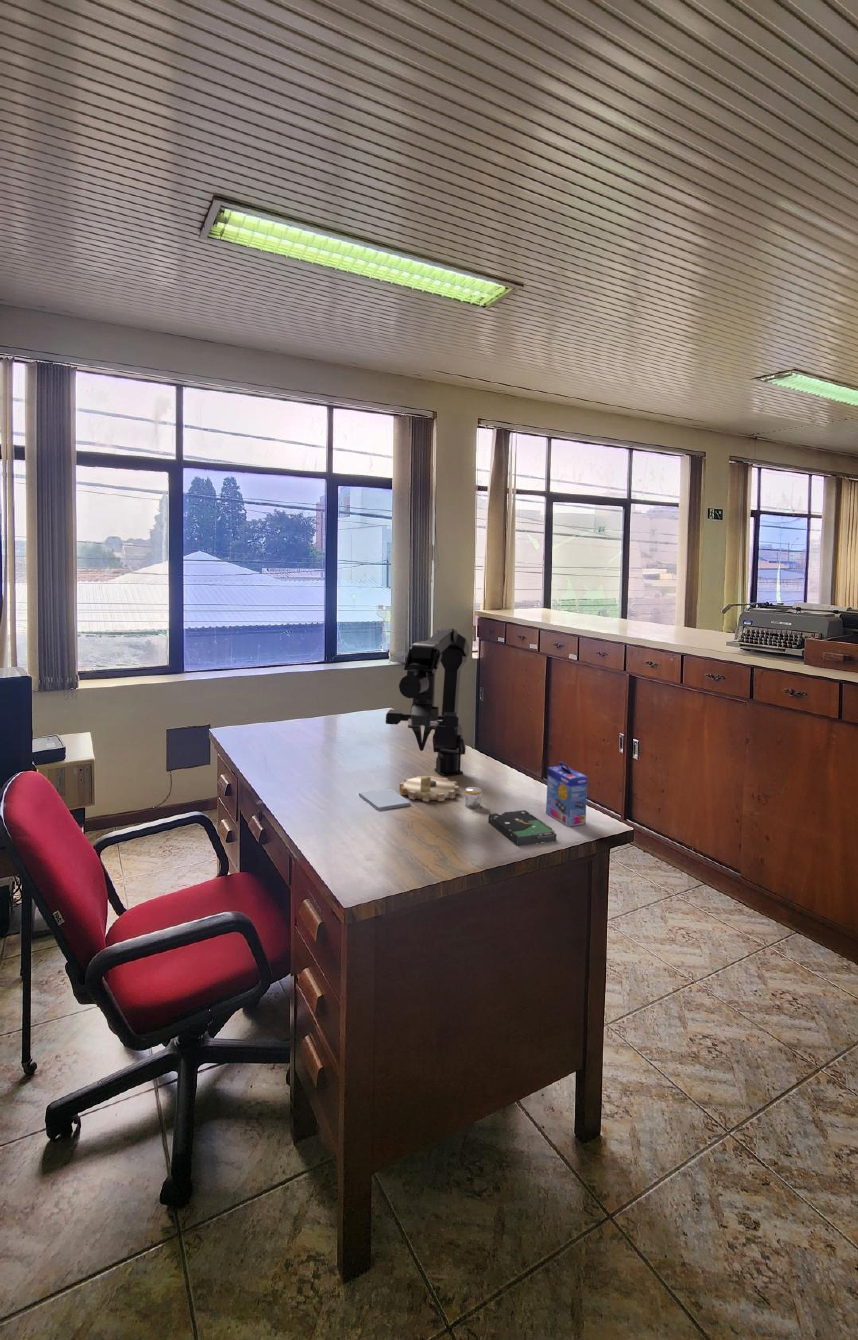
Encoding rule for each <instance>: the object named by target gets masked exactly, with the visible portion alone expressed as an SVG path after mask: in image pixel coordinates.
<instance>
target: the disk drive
mask: <svg viewBox="0 0 858 1340" xmlns="http://www.w3.org/2000/svg"><path fill="white" fill-rule="evenodd" d="M487 817H488V819H487V820H488V821H487V822H488V824H489V825H490V826H492V827H493V828H494V829H496V831H497V832H499V833H500V834H501V835H503V836H504V837H505V838H507V839H508V841H510V842H511V843H513V844H514V846H516V847H523V846H530V845H537V844H536V843H538V844H542V843H541V842H546V843H552V841H553V842H556V841H557V833H556V831H555V830H554V829H553V828H552V827H550V826H549V825H547V824H546V823H544V822H543V821H541V820H540V819H539V818H538V817H535V816H534V815H533V814H532V813H530V812H529V811H527V810H526V809H523V810H515V811H504V812H503V813H502V814H499V813H496V812H495V813H489V814H488V816H487Z"/></svg>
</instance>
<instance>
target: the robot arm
mask: <svg viewBox="0 0 858 1340" xmlns="http://www.w3.org/2000/svg"><path fill="white" fill-rule="evenodd" d="M468 642H469V641H467V639H466V638H465V637H464V636H462V635H461V634H459V632H458V631H457V629H455V628H451V627H450V628H449V627H441V628H438V629H437V632H436V633H434V634H433V635H432V636H431V637H429V638H427V640H421V641H416V642H414V643H412V645H411V647H409V650H408V654H407V657H406V661H405V664H404V668H403V669H404V670H403V671H406V675H405V676H403V677H402V678H401V679H400V681H399V684H398V689H399V692H400V694H401V695H402V696H403V697H405V698H406V699H412V701H411V707H410V713H404V710H403V709H391V708H390V709H389V710H388V711H387V712H386V714H385V725H386V724H387V725H398V724H400V723H401V722H407V728H408V729H412V732H413V734H414V735H415V738H416V742H417V744H418V748H419V751H421V752H423V751H424V750H425V749H424V748H425V746H426V743H427V741H428V738H429V736H430V734H431V733H432V730H434V731H433V732H434V733H433V734H432V746H433V747H432V748H433V753H437V757H436V759H435V768H434V772H437V773H438V774H441V775H442V776H444V777H449V776H454V775H463V774H464V771H462V770H461V761H462V760H461V758H462V756H463V755H466V747H467V745H466V741H465V738H464V735H463V734H462V733H463V729H462V725H460V722H459V721H460V715H459V713H458V711H459V698H460V697H459V696H460V683H461V670H462V669H463V668H464V666H465V665H466V663H467V661H468V657H469V654H470V645H469V643H468ZM440 663H441V666H442V667H443V669H444V675H443V690H442V704H441V715H440V714H439V706H435V692H436V691H435V690H436V672H437V670H439V669H438V668H439V667H440ZM422 726H424V729H423V730H424V731H423V736H422Z"/></svg>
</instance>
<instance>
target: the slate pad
mask: <svg viewBox="0 0 858 1340" xmlns="http://www.w3.org/2000/svg"><path fill="white" fill-rule="evenodd" d="M358 796H359V797H360V798H361V799H363V800H364V801H365V802H366V803H368V804H369V805H370V806H372V807H373V808H375V810H377V811H383V810H384V811H385V810H390V809H396V808H403V807H409V806H411V801H410V800H408V799H407V798H405V797H403V795H400V794H399V793H398V792H397V791H394V790H393V789H392V788H382V789H376V790H368V791H363V792H359V793H358Z"/></svg>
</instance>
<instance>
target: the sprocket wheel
mask: <svg viewBox="0 0 858 1340" xmlns="http://www.w3.org/2000/svg"><path fill="white" fill-rule="evenodd" d="M399 791H400V794H401V796H408V798H409V799H411V800H416V799H418V800H422V801H423V802H430V801H438V802H444V801H445V799H454V798H456V795H459V793H460V785H458V782H457V781H455V780H453V781H452V780H449V778H447V777H436V775H429V776H428V775H423V776H422V775H416V776H415V777H413V778H409V777H407V778H404V781H400V783H399Z"/></svg>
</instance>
